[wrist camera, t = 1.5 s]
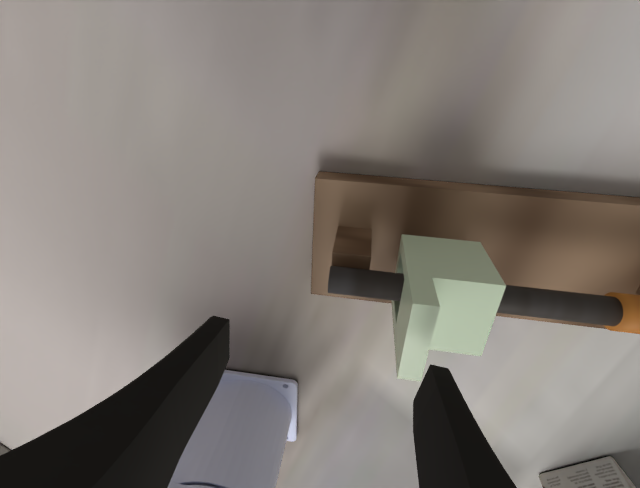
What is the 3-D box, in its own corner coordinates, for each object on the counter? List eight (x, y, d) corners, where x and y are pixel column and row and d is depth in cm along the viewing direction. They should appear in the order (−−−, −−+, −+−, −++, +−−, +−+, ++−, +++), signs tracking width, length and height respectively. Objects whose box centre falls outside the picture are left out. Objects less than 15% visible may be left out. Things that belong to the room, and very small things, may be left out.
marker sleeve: (391, 295, 20) (397, 378, 15) (401, 234, 18) (412, 303, 13) (461, 304, 20) (494, 391, 14) (480, 242, 18) (524, 316, 13)
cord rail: (314, 281, 25) (293, 358, 18) (319, 171, 21) (294, 218, 14) (649, 319, 22) (760, 422, 16) (722, 204, 19) (904, 277, 12)
